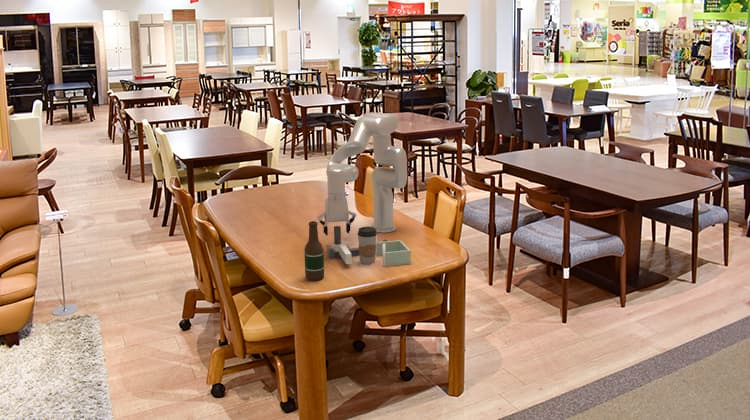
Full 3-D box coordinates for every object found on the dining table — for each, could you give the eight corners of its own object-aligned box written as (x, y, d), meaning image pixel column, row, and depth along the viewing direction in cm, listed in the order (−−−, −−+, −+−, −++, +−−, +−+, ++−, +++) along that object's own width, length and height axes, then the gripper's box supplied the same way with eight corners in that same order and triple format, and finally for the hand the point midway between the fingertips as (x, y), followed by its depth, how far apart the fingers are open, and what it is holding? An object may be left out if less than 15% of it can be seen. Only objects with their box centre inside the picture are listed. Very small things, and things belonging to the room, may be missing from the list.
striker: (333, 251, 312) (332, 225, 309) (346, 250, 313) (346, 224, 310) (341, 264, 296) (341, 237, 293) (355, 263, 298) (355, 236, 294)
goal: (373, 255, 313) (373, 234, 310) (400, 252, 316) (400, 231, 313) (383, 266, 299) (382, 244, 296) (410, 263, 302) (410, 241, 299)
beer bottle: (324, 274, 291) (323, 219, 284) (323, 281, 283) (322, 224, 277) (305, 274, 291) (303, 219, 284) (304, 281, 283) (302, 225, 276)
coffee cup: (360, 266, 300) (360, 232, 295) (355, 259, 307) (355, 227, 303) (379, 264, 302) (379, 231, 298) (374, 257, 309) (373, 225, 305)
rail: (327, 255, 312) (327, 245, 311) (386, 250, 319) (386, 239, 318) (329, 259, 308) (329, 248, 306) (389, 253, 314) (389, 243, 313)
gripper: (353, 192, 309) (354, 229, 313) (315, 195, 304) (316, 232, 309) (357, 196, 302) (358, 234, 306) (318, 199, 297) (319, 237, 302)
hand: (337, 233), depth 308 cm, fingers open, 9 cm apart
